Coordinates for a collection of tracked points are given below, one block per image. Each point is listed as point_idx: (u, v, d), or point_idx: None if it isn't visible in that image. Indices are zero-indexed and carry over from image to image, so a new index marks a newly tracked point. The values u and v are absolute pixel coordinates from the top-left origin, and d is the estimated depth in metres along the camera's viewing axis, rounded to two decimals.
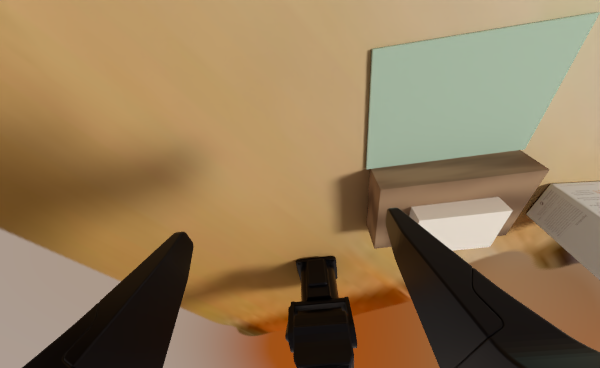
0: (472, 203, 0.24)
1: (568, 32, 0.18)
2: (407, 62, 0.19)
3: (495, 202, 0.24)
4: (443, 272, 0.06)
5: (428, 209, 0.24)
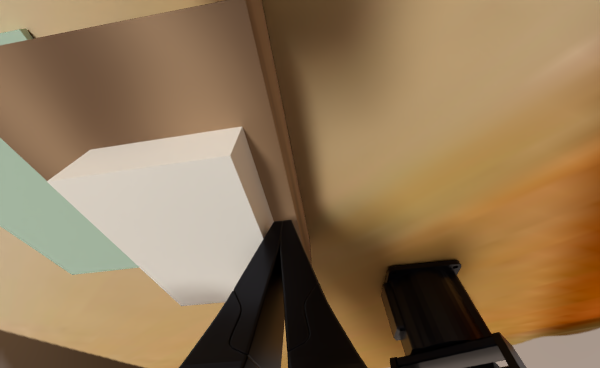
0: None
1: None
2: (59, 254, 0.19)
3: None
4: (289, 286, 0.07)
5: None
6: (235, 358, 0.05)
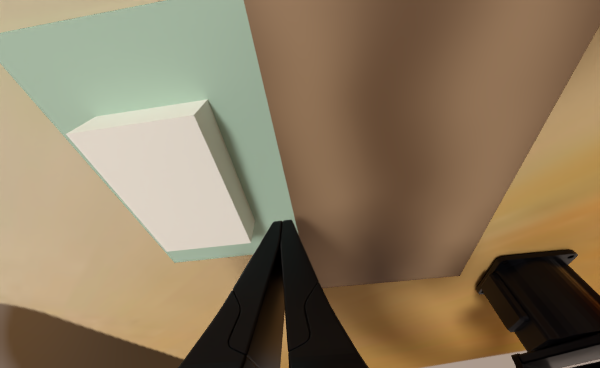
0: (220, 165, 0.12)
1: (34, 75, 0.11)
2: None
3: (206, 125, 0.11)
4: (290, 286, 0.07)
5: (246, 220, 0.15)
6: (234, 358, 0.05)
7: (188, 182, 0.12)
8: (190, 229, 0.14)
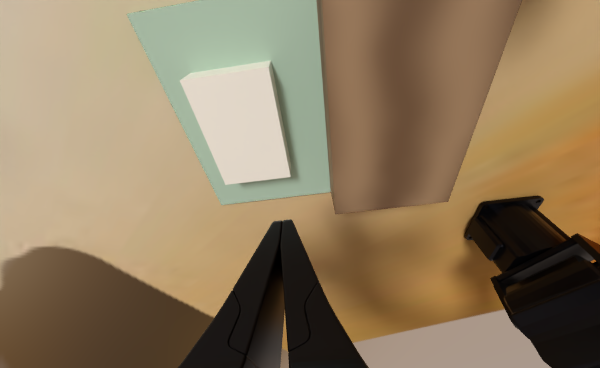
0: (277, 108, 0.17)
1: (155, 41, 0.15)
2: None
3: (271, 77, 0.16)
4: (290, 286, 0.07)
5: (288, 158, 0.20)
6: (234, 358, 0.05)
7: (254, 121, 0.17)
8: (247, 163, 0.19)
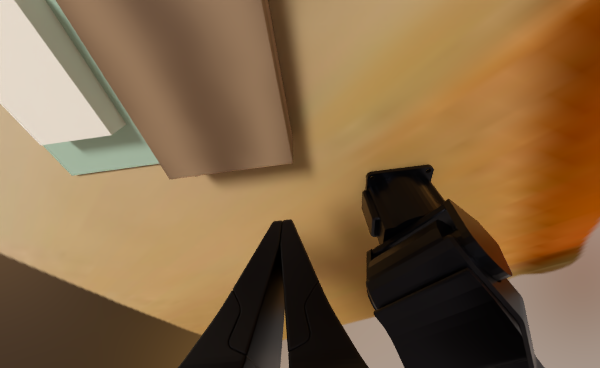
0: (53, 43, 0.14)
1: None
2: (60, 147, 0.20)
3: (26, 0, 0.13)
4: (290, 286, 0.07)
5: (104, 113, 0.17)
6: (234, 358, 0.05)
7: (26, 59, 0.14)
8: (50, 117, 0.17)
